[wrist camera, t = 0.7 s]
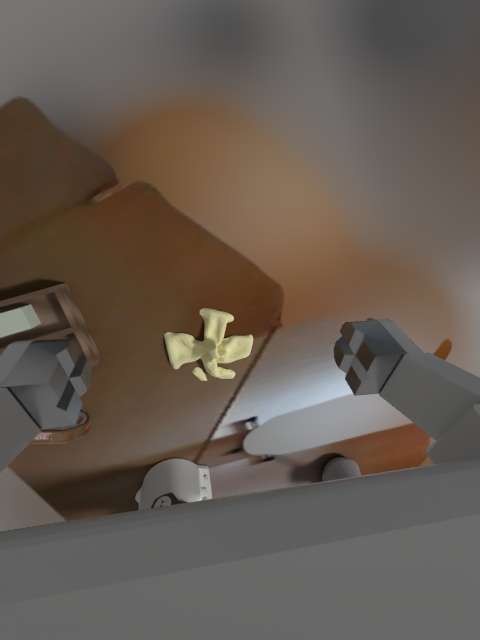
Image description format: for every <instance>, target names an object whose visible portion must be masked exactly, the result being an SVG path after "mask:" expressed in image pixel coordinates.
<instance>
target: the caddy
mask: <svg viewBox="0 0 480 640" xmlns="http://www.w3.org/2000/svg"><path fill="white" fill-rule="evenodd" d="M30 304H31V305H32V307H33V309H34V311H35V313H36V315H37V317H38V319H39V320H40V322H41V324H39V325H37V326H35V327H33V328H31V329H28V330H24V331H21V332H18V333H14V334H11V335H8V336H4V337H1V338H0V356H1V354H2V353H3V352H4V350H5V349H6V348H7V346H8V345H9V344H11V343H13V342H15V341H35V340H51V339H76V340H78V341H79V343H80V345H81V347H82V350H81V352H80V355H81V356H83V357H84V358H86V359H87V360H88V363H89V365H90V370H91V369H94V368H97V367H98V365H99V364H100V362H101V361H102V358H101V356H100V353H99V351H98V349H97V347H96V345H95V343H94V340H93V338H92V336H91V334H90V332H89V330H88V328H87V325H86V323H85V321H84V319H83V317H82V315H81V313H80V310H79V308H78V306H77V304H76V302H75V300H74V297H73V295H72V293H71V291H70V289H69V287H68V285H67V283H64V284H60V285H56V286H53V287H49V288H46V289H42V290H38V291H35V292H31V293H27V294H24V295H20V296H17V297H13V298H9V299H6V300H2V301H0V313H1V312H5V311H8V310H12V309H15V308H19V307H23V306H26V305H30Z"/></svg>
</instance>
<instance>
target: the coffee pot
mask: <svg viewBox="0 0 480 640" xmlns="http://www.w3.org/2000/svg"><path fill="white" fill-rule="evenodd" d="M357 476H361V474H360V470H359V467H358V465H357V463H356V462H355V461H353V460H352V459H350V458H346V457H337V458H334V459H332V460H330V461H329V462H328V463H327V464H326V466H325V468H324V470H323V474H322V482H324V481H331V480H337V479H344V478H350V477H357Z"/></svg>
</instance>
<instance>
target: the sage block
mask: <svg viewBox="0 0 480 640" xmlns="http://www.w3.org/2000/svg"><path fill="white" fill-rule="evenodd" d="M39 324H41V322H40V320H39V319H38V317H37V315H36V313H35V311H34V309H33V307H32V305H31V304H30V305H26V306H23V307H19V308H15V309H12V310H8V311H5V312H1V313H0V338H1V337H4V336H8V335H11V334H14V333H18V332H21V331H24V330H28V329H31V328H33V327H35V326H37V325H39Z"/></svg>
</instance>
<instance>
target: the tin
mask: <svg viewBox="0 0 480 640" xmlns="http://www.w3.org/2000/svg"><path fill="white" fill-rule="evenodd" d="M40 430H41V432H40V433H39V434H38V435H37V436H36V437H35V438H34V439H33V440H32V441H31V442H30V443H29V444H62V443H68V442H72V441H75V440H78V439H80V438H82V437H84V436H85V435H86V434H87V433H88V432H89V431H90V416H89V415H88V414H87V413H86V412H83V411H80V413H79V415H78V418H77V421H76V424H75V425H71V426H63V427H56V428H48V429H40Z"/></svg>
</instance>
